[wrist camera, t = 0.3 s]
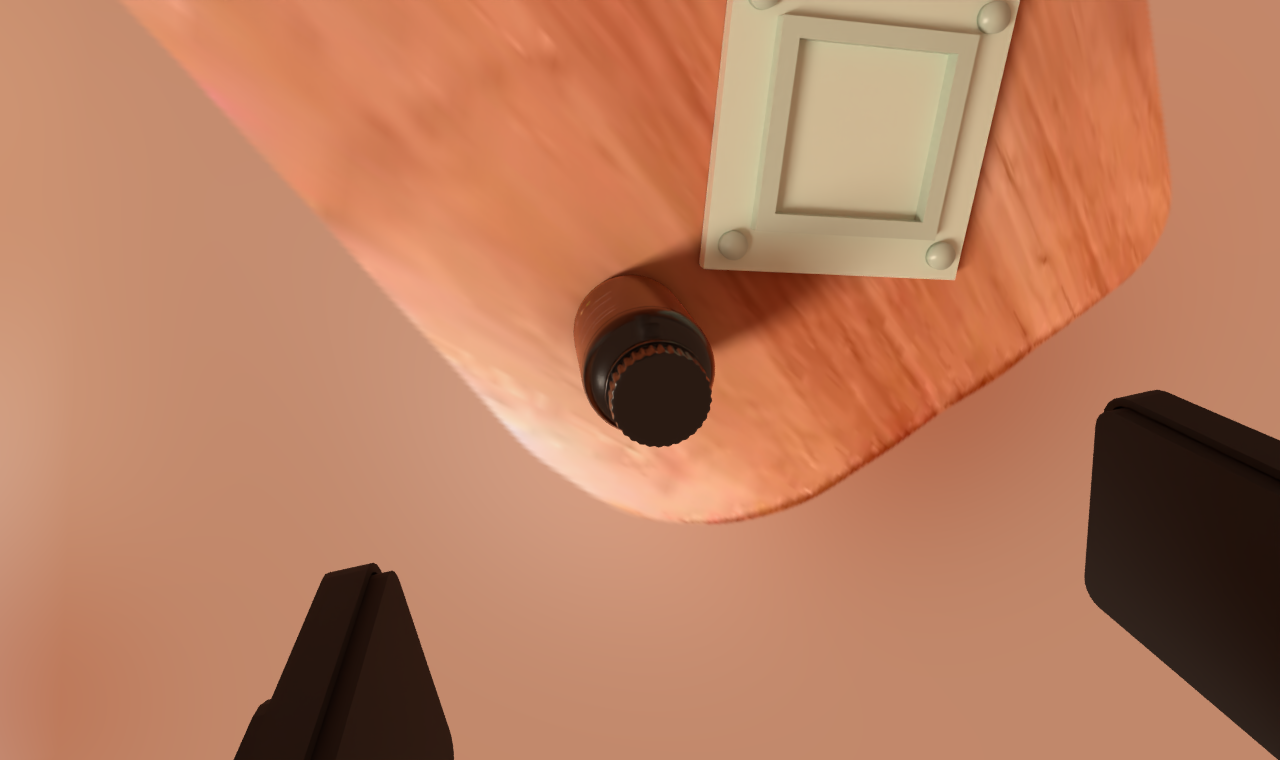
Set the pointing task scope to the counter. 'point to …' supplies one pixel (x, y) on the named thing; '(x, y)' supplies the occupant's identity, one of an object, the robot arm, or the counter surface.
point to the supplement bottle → (643, 361)
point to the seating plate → (851, 134)
